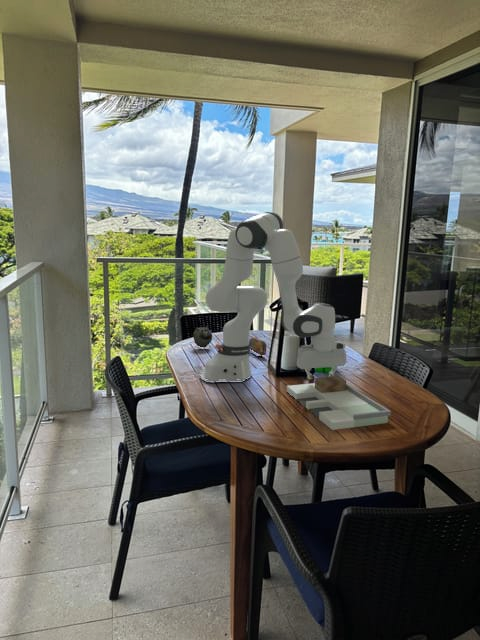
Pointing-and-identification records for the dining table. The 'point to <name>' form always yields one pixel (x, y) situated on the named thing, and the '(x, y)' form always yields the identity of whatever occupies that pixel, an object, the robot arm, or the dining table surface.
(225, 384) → the dining table surface
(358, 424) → the trap board
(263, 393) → the dining table surface
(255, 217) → the robot arm
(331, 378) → the walnut bar
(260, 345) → the brown rounded lump
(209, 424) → the dining table surface
